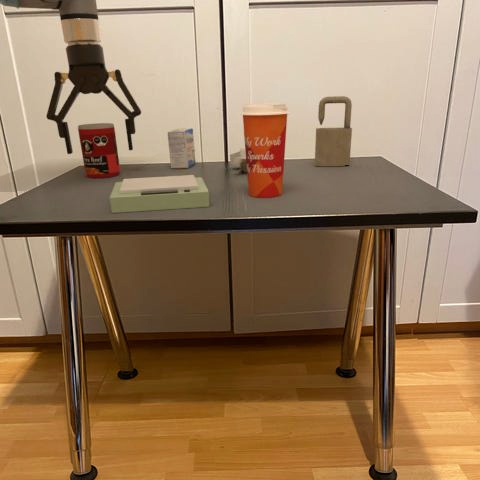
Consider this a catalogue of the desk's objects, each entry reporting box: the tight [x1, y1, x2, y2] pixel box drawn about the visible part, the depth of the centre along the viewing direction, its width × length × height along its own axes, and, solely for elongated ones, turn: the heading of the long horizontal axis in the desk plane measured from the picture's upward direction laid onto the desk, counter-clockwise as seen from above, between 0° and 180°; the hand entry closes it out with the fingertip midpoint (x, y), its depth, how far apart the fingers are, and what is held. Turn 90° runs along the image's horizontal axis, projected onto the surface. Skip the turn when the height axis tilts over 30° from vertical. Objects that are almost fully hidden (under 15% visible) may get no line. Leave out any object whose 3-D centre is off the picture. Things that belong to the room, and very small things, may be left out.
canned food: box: [77, 122, 121, 179], centre depth 110 cm, size 8×8×11 cm
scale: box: [109, 174, 210, 214], centre depth 85 cm, size 16×14×3 cm
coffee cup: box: [240, 103, 291, 199], centre depth 84 cm, size 8×8×15 cm
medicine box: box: [167, 127, 196, 170], centre depth 119 cm, size 8×4×9 cm, turn 171°
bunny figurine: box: [229, 147, 247, 173], centre depth 111 cm, size 10×5×15 cm
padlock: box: [314, 95, 353, 167], centre depth 112 cm, size 4×8×15 cm, turn 82°
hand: (100, 151), depth 110 cm, fingers open, 13 cm apart
